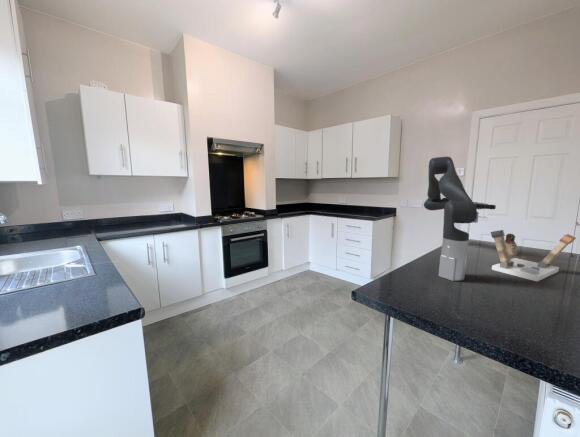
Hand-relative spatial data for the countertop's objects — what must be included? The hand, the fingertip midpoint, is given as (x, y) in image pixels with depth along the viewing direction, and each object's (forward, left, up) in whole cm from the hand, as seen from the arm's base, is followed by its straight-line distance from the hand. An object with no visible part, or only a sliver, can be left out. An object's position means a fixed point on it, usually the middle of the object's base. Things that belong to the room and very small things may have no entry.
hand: (494, 207), depth 128 cm
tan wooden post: (-14, -13, -25) cm, 31 cm away
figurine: (+20, -1, -28) cm, 35 cm away
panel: (-6, -17, -28) cm, 33 cm away
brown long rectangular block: (+2, -21, -25) cm, 33 cm away
